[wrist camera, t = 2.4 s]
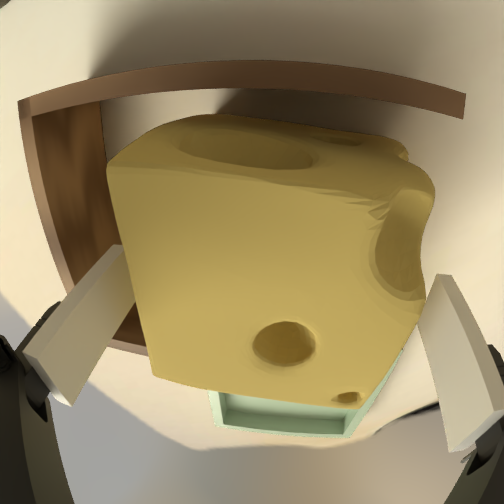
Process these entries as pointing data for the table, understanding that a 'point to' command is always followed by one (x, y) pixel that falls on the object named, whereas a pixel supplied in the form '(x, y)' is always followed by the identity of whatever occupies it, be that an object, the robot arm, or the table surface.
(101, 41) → the table surface
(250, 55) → the table surface
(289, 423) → the tray
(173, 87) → the cubby
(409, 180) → the cheese
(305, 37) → the table surface
